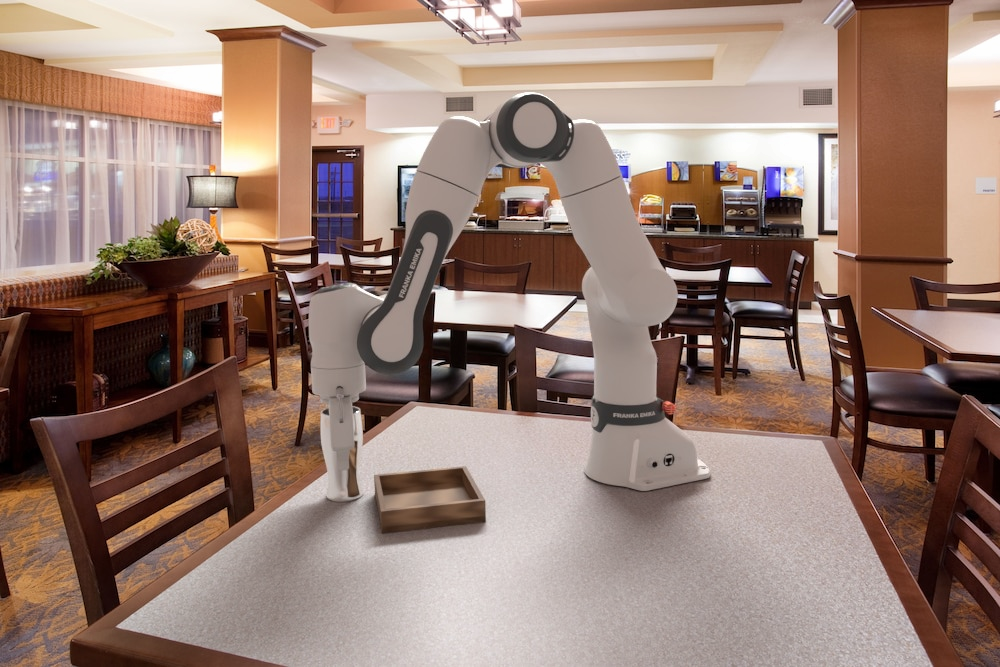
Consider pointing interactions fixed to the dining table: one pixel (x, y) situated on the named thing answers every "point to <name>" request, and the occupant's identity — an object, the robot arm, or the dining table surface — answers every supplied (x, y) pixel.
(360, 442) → the beer glass
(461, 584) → the dining table surface
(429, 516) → the walnut tray
